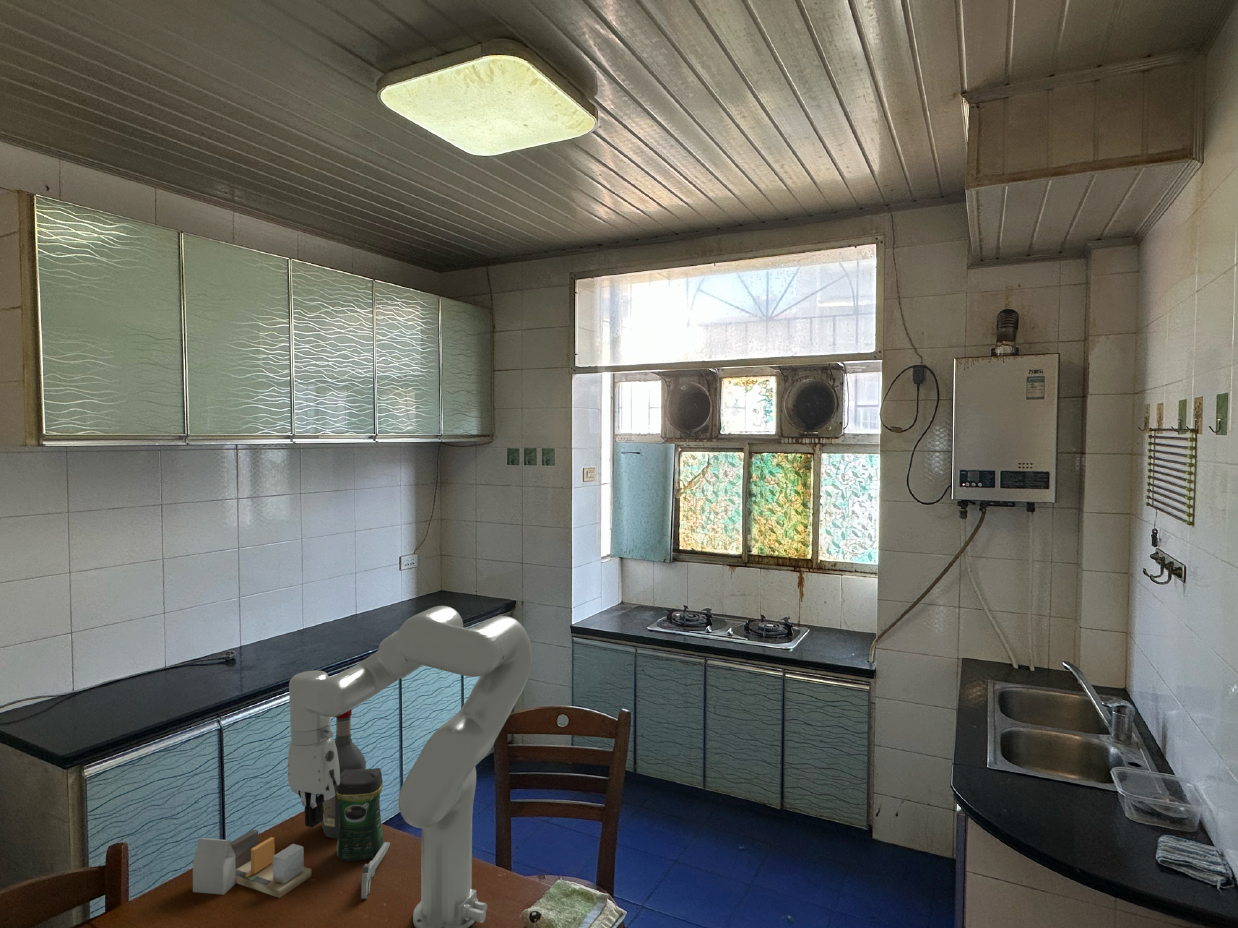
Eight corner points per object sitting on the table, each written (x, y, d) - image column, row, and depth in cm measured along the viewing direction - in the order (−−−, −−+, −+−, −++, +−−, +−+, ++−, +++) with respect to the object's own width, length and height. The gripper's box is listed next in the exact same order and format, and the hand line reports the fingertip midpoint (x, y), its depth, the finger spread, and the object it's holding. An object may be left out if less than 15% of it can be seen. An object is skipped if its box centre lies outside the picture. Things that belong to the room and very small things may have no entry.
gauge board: (311, 875, 149) (311, 843, 149) (279, 897, 142) (279, 863, 142) (256, 858, 155) (256, 827, 155) (224, 878, 148) (224, 845, 148)
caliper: (366, 901, 141) (366, 870, 141) (361, 901, 141) (361, 870, 141) (390, 844, 162) (390, 817, 162) (385, 845, 162) (385, 817, 161)
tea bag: (223, 894, 143) (223, 845, 143) (192, 891, 144) (192, 843, 143) (235, 883, 146) (235, 835, 146) (205, 880, 147) (205, 833, 147)
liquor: (359, 814, 175) (359, 693, 174) (367, 830, 167) (367, 705, 166) (319, 824, 170) (319, 700, 169) (326, 841, 162) (326, 712, 162)
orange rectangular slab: (274, 860, 151) (274, 837, 151) (248, 877, 145) (248, 853, 145) (271, 859, 152) (271, 836, 151) (244, 876, 146) (244, 852, 145)
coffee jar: (386, 841, 162) (386, 761, 162) (378, 861, 155) (378, 777, 154) (342, 843, 161) (342, 763, 161) (332, 863, 154) (332, 779, 153)
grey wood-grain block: (303, 870, 148) (303, 846, 148) (283, 883, 143) (283, 859, 143) (293, 866, 149) (293, 843, 149) (273, 879, 144) (273, 855, 144)
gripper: (353, 731, 144) (356, 820, 144) (298, 723, 150) (301, 808, 150) (324, 745, 137) (328, 839, 137) (268, 736, 143) (272, 826, 143)
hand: (314, 823), depth 143 cm, fingers closed
